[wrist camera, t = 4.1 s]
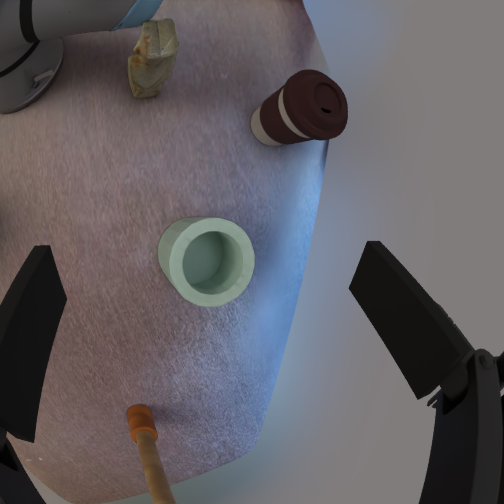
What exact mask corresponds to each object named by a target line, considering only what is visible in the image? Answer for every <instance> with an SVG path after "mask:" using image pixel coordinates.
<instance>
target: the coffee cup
mask: <svg viewBox="0 0 504 504" xmlns="http://www.w3.org/2000/svg"><path fill="white" fill-rule="evenodd" d="M347 109H348V107H347V101H346V97H345V95H344V93H343V91H342V90H341V88H340V87H339V86H338V85H337V83H335V82H334V81H333V80H332V79H330V78H329V77H328V76H327V75H325V74H323V73H321V72H319V71H316V70H302V71H299V72H297V73H296V74H294V75H293V76H291V77H290V78H289V79H288V80H287V82H286V83H285V85H284V86H282V87H281V88H280V89H279V90H277V91H276V92H275V93H274V94H272V95H271V96H270V97H269V98H267V99H266V100H265V101H264V103H263V104H262V105H261V106H260V107H259V108H257V109H256V110H255V111H254V113H253V115H252V117H251V129H252V132H253V134H254V135H255V137H256V138H257V139H258V140H259V141H260V142H261V143H263V144H265V145H268V146H279V145H283V144H287V145H288V144H294V143H299V142H304V141H309V140H314V139H315V140H328V139H332V138H335V137H337V136H338V135H340V134H341V133H342V132H343V130H344V129H345V126H346V124H347V118H348V110H347Z"/></svg>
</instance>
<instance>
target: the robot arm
mask: <svg viewBox="0 0 504 504" xmlns="http://www.w3.org/2000/svg"><path fill="white" fill-rule="evenodd" d="M161 2H162V0H0V114H7V113H12V112H15V111H18V110H21V109H23V108H25V107H27V106H28V105H30V104H31V103H33V102H34V101H35V100H37V99H38V98H39V97H40V96H41V95H42V94H43V93H44V92H45V91H46V90H47V89H48V88H49V87H50V86H51V84H52V83H53V82H54V80H55V79H56V77H57V75H58V73H59V71H60V69H61V67H62V64H63V60H64V47H63V42H62V39H61V37H62V36H68V35H74V34H81V33H89V32H98V31H114V30H117V29H122V28H132V27H138V26H141V25H143V22H145V21H149V20H150V19H151V18H152V17H153V16H154V14H155V13H156V11H157V10H158V8H159V6H160V4H161ZM349 290H350V291H351V292H352V294H353V296H354V297H355V299H356V300H357V302H358V303H359V305H360V306H361V308H362V309H363V311H364V312H365V314H366V315H367V317H368V318H369V320H370V322H371V323H372V325H373V326H374V328H375V329H376V331H377V333H378V334H379V336H380V337H381V339H382V341H383V342H384V344H385V345H386V347H387V349H388V350H389V352H390V353H391V355H392V357H393V358H394V360H395V362H396V363H397V365H398V367H399V368H400V370H401V372H402V373H403V375H404V377H405V379H406V380H407V382H408V384H409V385H410V387H411V389H412V391H413V392H414V394H415V396H416V398H417V399H418V400H419V399H421V398H422V397H424V396H427V395H429V394H430V393H431V392H432V391H433V390H435V389H436V387H437V386H439V385H440V387H441V389H440V390H439V391H438V392H437V393H436V394H435V395H434V396H433V397H432V398H431V399H430V400H429V401H428V404H427V406H430V405H431V404H432V403H433V402H434V401H435V400H437V401H436V402H435V403H434V404H433V406H432V407H433V408H436V416H435V426H434V433H433V440H432V447H431V453H430V458H429V463H428V468H427V473H426V477H425V482H424V486H423V490H422V493H421V498H420V501H419V504H504V395H503V396H502V397H501V394H500V391H501V390H502V389H503V388H504V352H503V353H502V354H501V355H500V356H498V357H493V356H492V355H491V354H490V353H489V352H488V351H486V350H485V349H478V350H474V348H473V347H472V346H471V344H470V343H469V342H468V340H467V339H466V338H465V336H464V335H463V334H462V332H461V331H460V330H459V328H458V327H457V326H456V324H453V321H452V319H451V318H450V317H448V314H447V313H446V312H445V311H444V310H443V308H442V307H441V306H440V305H439V304H437V303H436V302H435V301H434V300H433V299H432V298H431V297H430V296H429V295H428V293H427V292H426V291H425V290H424V289H423V288H422V287H421V285H420V284H419V283H418V282H417V281H416V279H415V278H413V276H412V275H411V274H410V273H409V272H408V271H407V269H406V268H405V267H404V266H403V265H402V264H401V263H400V262H399V261H398V260H397V259H396V258H395V256H394V255H393V254H391V252H390V251H389V250H388V249H387V248H386V247H385V246H384V245H383V244H382V243H381V242H380V241H367V243H366V245H365V248H364V251H363V253H362V256H361V259H360V261H359V264H358V266H357V269H356V272H355V274H354V277H353V279H352V282H351V284H350V286H349ZM66 301H67V297H66V294H65V291H64V289H63V286H62V283H61V280H60V277H59V274H58V271H57V267H56V264H55V261H54V257H53V254H52V250H51V247H50V245H41V246H34V248H33V249H32V251H31V252H30V254H29V256H28V257H27V259H26V260H25V262H24V264H23V265H22V267H21V269H20V270H19V272H18V274H17V275H16V277H15V279H14V281H13V282H12V284H11V286H10V288H9V290H8V291H7V293H6V295H5V297H4V299H3V301H2V303H1V305H0V504H46V503H45V501H44V500H43V499H42V497H41V496H40V494H39V492H38V491H37V489H36V488H35V486H34V485H33V483H32V481H31V480H30V478H29V476H28V475H27V473H26V471H25V470H24V468H23V466H22V464H21V462H20V460H19V459H18V457H17V455H16V453H15V451H14V449H13V447H12V445H11V443H10V441H9V440H8V438H6V434H7V431H8V432H9V433H10V434H11V435H13V436H14V437H16V438H18V439H21V440H24V441H28V442H32V443H34V439H35V430H36V423H37V416H38V409H39V403H40V398H41V392H42V387H43V382H44V378H45V373H46V369H47V365H48V361H49V357H50V353H51V349H52V346H53V342H54V338H55V335H56V332H57V328H58V325H59V322H60V319H61V316H62V313H63V310H64V307H65V304H66Z"/></svg>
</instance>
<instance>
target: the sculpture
mask: <svg viewBox="0 0 504 504" xmlns="http://www.w3.org/2000/svg"><path fill="white" fill-rule="evenodd" d="M178 45H179V42H178V41H177V35H176V28H175V23H174V21H173V20H172V19H163V20H158V21H155V20H151V21H145V22H143V30H142V32H141V34H140V37H139V39H138V42H137V44H136V46H135V48H134V52H135V54H133V55H131V56H130V57H129V58H128V65H127V72H128V78H129V83H130V87H131V90H132V93H133V96H134V97H136V98H147V97H153V96H156V95H158V94H159V93H160V90H161V87H162V84H163V82H164V81H165V80H166V79H167V78H169V77H170V75H171V72H172V69H173V66H174V63H175V60H176V53H177V47H178Z"/></svg>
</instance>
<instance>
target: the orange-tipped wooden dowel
mask: <svg viewBox="0 0 504 504" xmlns="http://www.w3.org/2000/svg"><path fill="white" fill-rule="evenodd" d="M127 418H128V424H129V430H130V435H131V439H132V440H133V441H134V442H135V443H137V445H138V449H139V454H140V458H141V462H142V466H143V470H144V474H145V477H146V481H147V484H148V488H149V491H150V495H151V498H152V501H153V504H176V502H175V499H174V497H173V494H172V492H171V489H170V486H169V484H168V481H167V478H166V475H165V472H164V469H163V466H162V463H161V460H160V457H159V454H158V451H157V448H156V444H155V441H156V440H157V438H158V434H157V431H156V427H155V424H154V420H153V417H152V413H151V411H150V409H149V408H148V407H146V406H144V405H134V406H131V407H130V408H129V409H128V411H127Z"/></svg>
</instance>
